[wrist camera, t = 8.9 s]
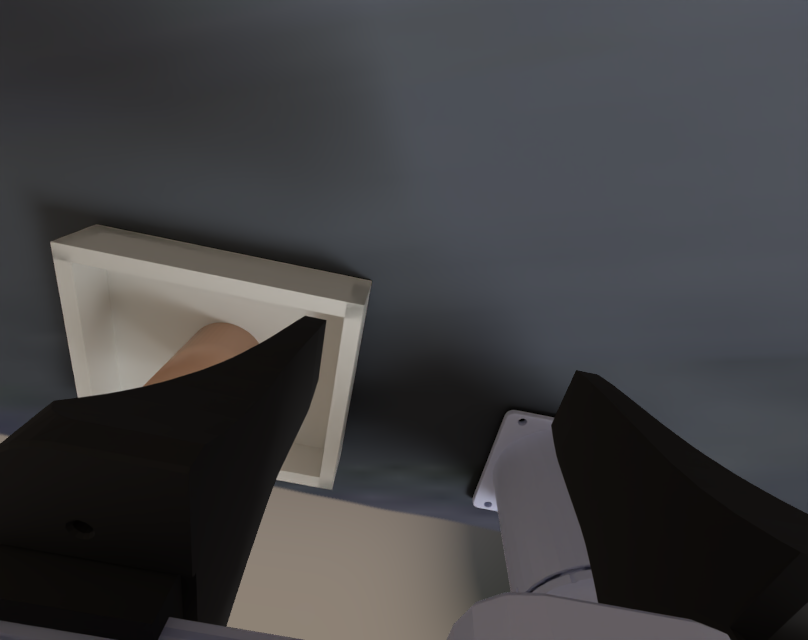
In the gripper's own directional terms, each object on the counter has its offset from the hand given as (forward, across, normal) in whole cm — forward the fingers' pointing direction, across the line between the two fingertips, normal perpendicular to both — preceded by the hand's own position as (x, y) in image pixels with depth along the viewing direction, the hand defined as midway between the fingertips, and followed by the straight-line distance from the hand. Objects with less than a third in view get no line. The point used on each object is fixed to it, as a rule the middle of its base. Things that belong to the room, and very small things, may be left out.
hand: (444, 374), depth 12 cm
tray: (+10, +10, +8) cm, 16 cm away
